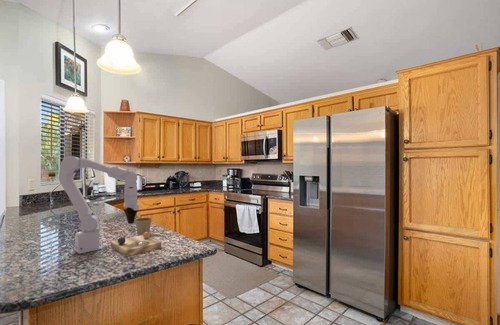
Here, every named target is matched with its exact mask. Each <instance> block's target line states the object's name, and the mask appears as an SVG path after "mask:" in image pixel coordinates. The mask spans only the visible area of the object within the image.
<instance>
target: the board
mask: <svg viewBox="0 0 500 325" xmlns="http://www.w3.org/2000/svg"><path fill="white" fill-rule="evenodd" d="M124 238H125V237H124ZM140 242H143V243H144V245H139V246H137V245H138V244H139V243H140ZM110 248H112V249H114V250H116V251H117V252H119V254H121V255H123V256H124V257H130V256H133V255H137V254H140V253H141V254H142V253H146V252H149V251H154V250H159V249H162V242H161V241H159V240H156V239H155V238H152V237H151V236H149V238H147V239H145V238H144V237H143V235H139V236H138V235H136V236H130V237H126V238H125V243H124V244H119V243H118V239H115V240H110Z"/></svg>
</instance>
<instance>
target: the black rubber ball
mask: <svg viewBox="0 0 500 325" xmlns="http://www.w3.org/2000/svg"><path fill="white" fill-rule="evenodd" d="M117 240H118V243H119V244H124V243H125V237H124V236H121V237H119V238H118V239H117Z"/></svg>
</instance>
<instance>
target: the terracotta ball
mask: <svg viewBox="0 0 500 325" xmlns="http://www.w3.org/2000/svg"><path fill="white" fill-rule="evenodd" d="M150 235H151V234H150V233H149V232H145V233H144V234H143V237H144V238H145V239H147V238H149V237H151V236H150Z"/></svg>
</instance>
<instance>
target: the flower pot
mask: <svg viewBox="0 0 500 325" xmlns="http://www.w3.org/2000/svg"><path fill="white" fill-rule="evenodd" d="M152 220H153V217H140V218H135V219H134V224H135V226H136V232H137V236H140V235H143V234H144V233H145V232H149V234H150V233H151V232H150V230H151V225H152V224H151V223H152Z"/></svg>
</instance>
